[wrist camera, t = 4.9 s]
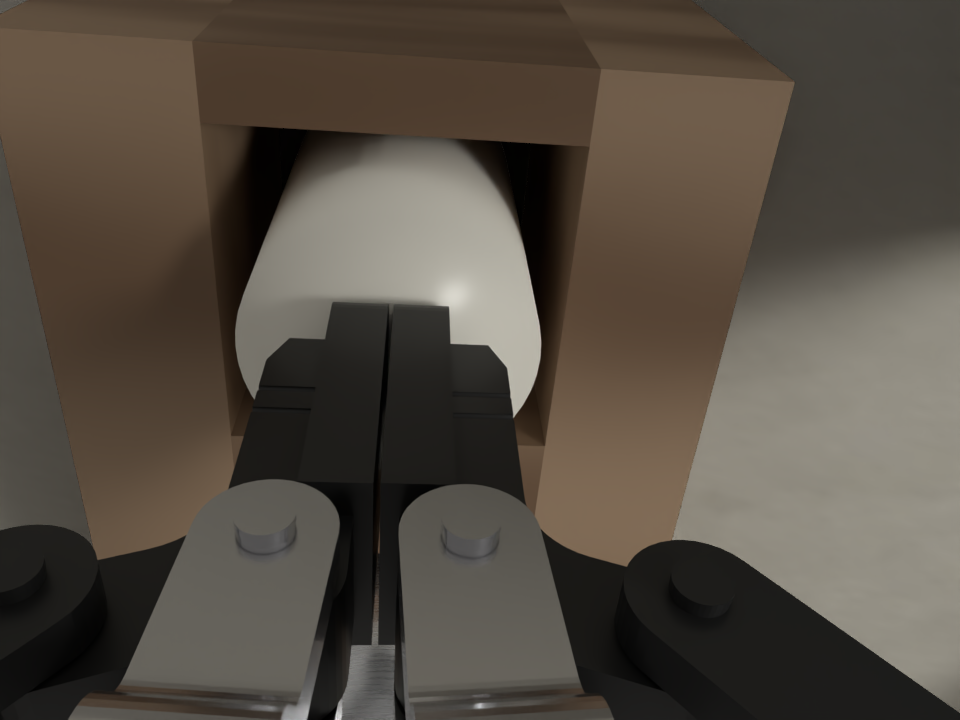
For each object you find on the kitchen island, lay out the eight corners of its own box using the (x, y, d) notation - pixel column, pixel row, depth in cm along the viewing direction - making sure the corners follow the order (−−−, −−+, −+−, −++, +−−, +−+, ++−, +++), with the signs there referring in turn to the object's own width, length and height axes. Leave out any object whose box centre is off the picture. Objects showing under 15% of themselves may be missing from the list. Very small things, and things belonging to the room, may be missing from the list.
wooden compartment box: (126, -50, 15) (-25, 26, 10) (682, -8, 16) (794, 82, 11) (226, 720, 27) (179, 930, 22) (543, 722, 28) (567, 925, 23)
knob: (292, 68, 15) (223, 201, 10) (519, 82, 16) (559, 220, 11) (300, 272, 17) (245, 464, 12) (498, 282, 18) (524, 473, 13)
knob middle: (292, 478, 17) (235, 753, 12) (490, 484, 18) (512, 755, 13) (299, 614, 20) (252, 896, 15) (476, 616, 20) (490, 894, 15)
